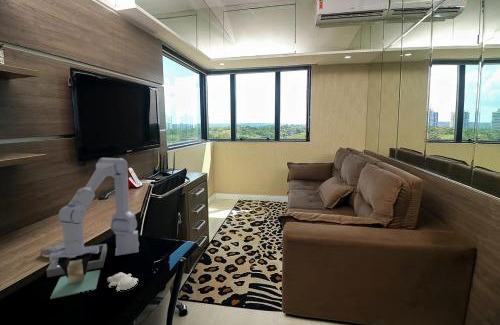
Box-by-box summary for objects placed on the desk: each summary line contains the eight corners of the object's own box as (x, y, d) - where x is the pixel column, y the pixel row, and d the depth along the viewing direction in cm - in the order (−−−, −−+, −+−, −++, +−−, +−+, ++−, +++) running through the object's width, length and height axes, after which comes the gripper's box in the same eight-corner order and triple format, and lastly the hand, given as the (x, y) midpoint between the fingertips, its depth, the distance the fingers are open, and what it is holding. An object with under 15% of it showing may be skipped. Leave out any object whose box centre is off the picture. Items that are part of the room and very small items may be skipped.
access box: (107, 249, 119) (106, 243, 119) (103, 267, 104) (102, 260, 104) (58, 257, 112) (58, 250, 111) (47, 277, 97) (46, 270, 96)
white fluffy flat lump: (126, 272, 101) (126, 265, 101) (142, 284, 94) (141, 276, 94) (102, 282, 95) (102, 275, 94) (117, 296, 87) (117, 288, 87)
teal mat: (100, 270, 102) (100, 269, 102) (95, 289, 90) (95, 288, 90) (60, 277, 97) (60, 276, 97) (50, 299, 85) (50, 297, 85)
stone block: (38, 261, 112) (56, 259, 110) (36, 250, 112) (54, 248, 110) (63, 249, 124) (80, 248, 121) (61, 240, 123) (78, 238, 121)
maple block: (85, 273, 96) (84, 258, 96) (83, 280, 92) (82, 264, 91) (71, 276, 95) (70, 261, 94) (68, 283, 90) (67, 267, 90)
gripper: (45, 247, 85) (48, 285, 86) (95, 240, 90) (98, 276, 92) (51, 238, 91) (54, 274, 93) (98, 232, 97) (100, 266, 99)
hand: (76, 274), depth 93 cm, fingers closed on maple block, 4 cm apart
